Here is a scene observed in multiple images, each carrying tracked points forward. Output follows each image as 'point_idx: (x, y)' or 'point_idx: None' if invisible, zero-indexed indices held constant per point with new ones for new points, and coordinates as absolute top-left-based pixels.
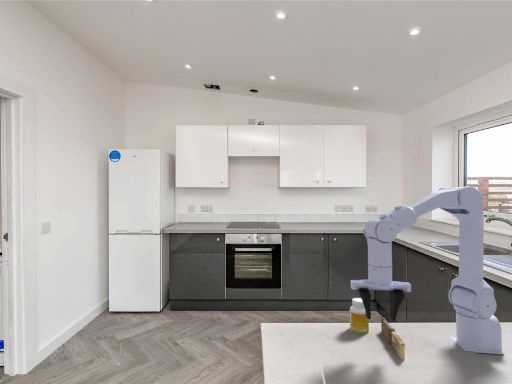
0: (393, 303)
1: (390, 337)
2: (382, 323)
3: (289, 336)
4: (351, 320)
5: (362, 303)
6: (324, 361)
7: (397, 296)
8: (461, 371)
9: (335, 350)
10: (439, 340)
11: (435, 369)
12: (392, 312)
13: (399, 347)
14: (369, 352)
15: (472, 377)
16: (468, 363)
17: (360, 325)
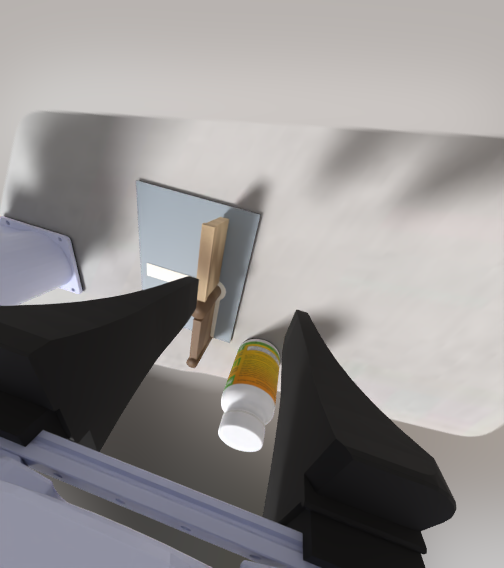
0: (141, 326)
1: (212, 297)
2: (200, 353)
3: (460, 380)
4: (277, 381)
5: (238, 421)
6: (459, 250)
7: (43, 332)
8: (107, 156)
9: (377, 297)
10: (105, 290)
11: (163, 172)
12: (180, 301)
13: (218, 236)
14: (288, 272)
15: (92, 124)
16: (80, 191)
17: (262, 359)
